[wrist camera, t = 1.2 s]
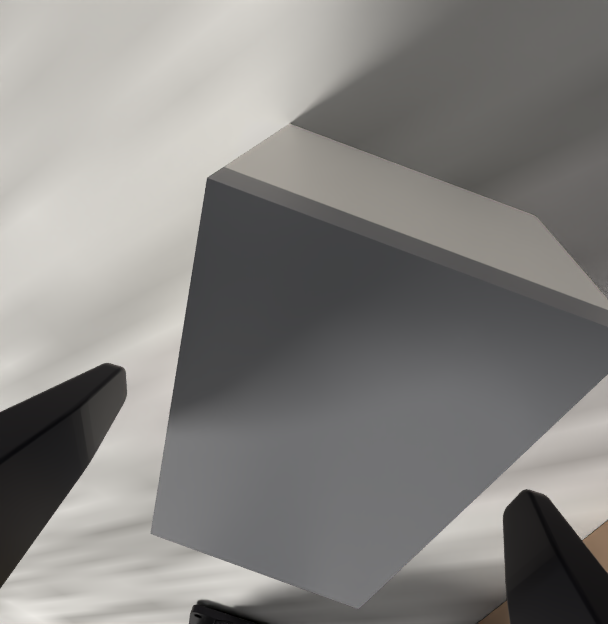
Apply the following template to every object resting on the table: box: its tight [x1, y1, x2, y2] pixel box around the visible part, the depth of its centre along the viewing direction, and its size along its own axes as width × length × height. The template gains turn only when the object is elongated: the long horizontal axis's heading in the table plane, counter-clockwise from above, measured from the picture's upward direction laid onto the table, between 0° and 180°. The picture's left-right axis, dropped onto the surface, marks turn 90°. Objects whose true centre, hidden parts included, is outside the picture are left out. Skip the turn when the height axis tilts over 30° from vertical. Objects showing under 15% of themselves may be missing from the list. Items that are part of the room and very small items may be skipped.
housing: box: [151, 124, 608, 609], centre depth 10 cm, size 10×6×5 cm, turn 163°
